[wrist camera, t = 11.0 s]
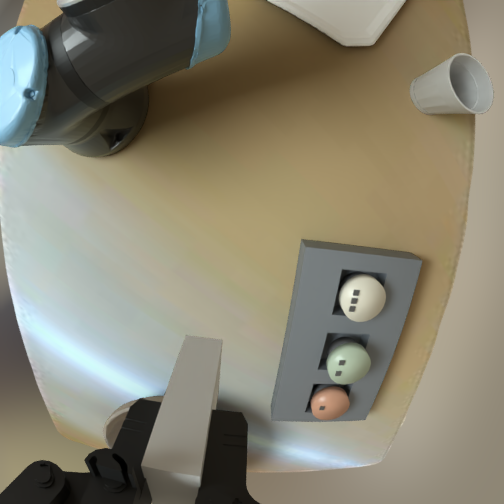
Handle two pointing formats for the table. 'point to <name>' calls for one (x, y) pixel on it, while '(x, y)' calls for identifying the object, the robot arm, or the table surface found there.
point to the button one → (329, 401)
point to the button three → (361, 296)
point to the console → (339, 325)
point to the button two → (347, 361)
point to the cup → (453, 88)
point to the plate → (345, 17)
